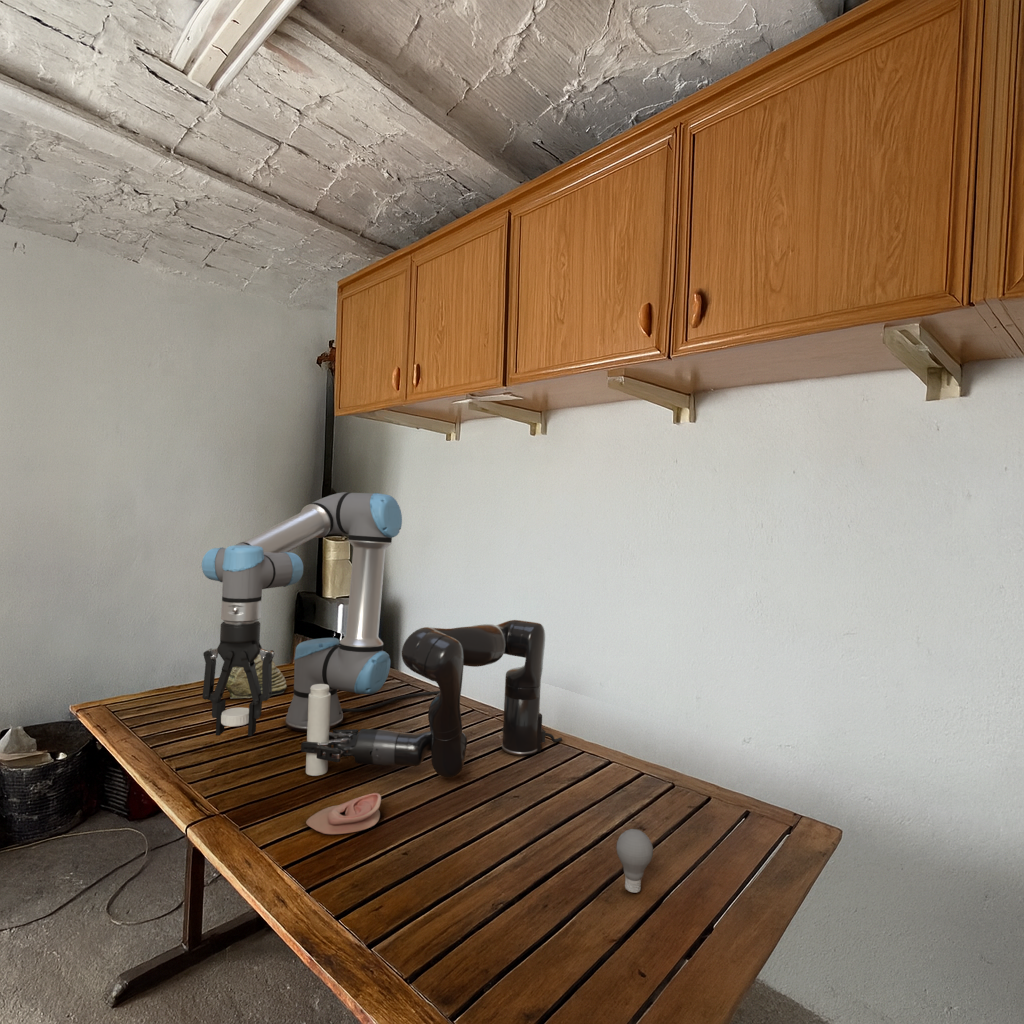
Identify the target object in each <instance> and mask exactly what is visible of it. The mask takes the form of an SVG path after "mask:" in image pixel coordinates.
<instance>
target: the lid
mask: <svg viewBox="0 0 1024 1024" xmlns="http://www.w3.org/2000/svg"><path fill="white" fill-rule="evenodd" d="M248 721H249V707H242V706H240V707H230V708H227V709H225V710H224V711H223V712H222V715H221V723H222V725H225V727H240V726H241V727H242V726H245V725H248Z"/></svg>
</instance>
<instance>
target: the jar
mask: <svg viewBox="0 0 1024 1024" xmlns="http://www.w3.org/2000/svg"><path fill="white" fill-rule="evenodd" d="M310 689H311V693H310V694H309V698H308V724H307V732H306V742H318V743H322V742H328V741H329V732H330V729H329V724H330V698H331V694H330V693H329V685H327V684H315V685H312V686H311V688H310ZM325 747H328V746H325ZM305 753H306V752H305ZM328 771H329V761H328V760H322V759H317V753H306V754H305V774H306V775H308V776H312V777H317V776H318V777H319V776H323V775H325V774H326V773H327V772H328Z"/></svg>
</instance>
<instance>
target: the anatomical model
mask: <svg viewBox="0 0 1024 1024" xmlns="http://www.w3.org/2000/svg"><path fill="white" fill-rule="evenodd" d="M381 803H382V796H381V794H380V793H379V792H373V793H368V794H364V795H362V796H358V797H356V798H353V799H351V800H348V801H346V802H343V803H340V804H338V805H332V806H328V807H325V808H323V809H321V810H319V811H317V812H315V813H313V814H312V815H311V816H310V817H308V818H307V819H306V821H305V824H306V825H307V826H308V827H309V828H311V829H312V830H314V831H316V832H319V833H321V834H323V835H343V834H351V833H356V832H362V831H365V830H367V829H369V828H370V829H371V828H372V827H374V826H375V825H376V824H377V823H379V821H380V818H381V812H380V810H379V809H380V807H381Z"/></svg>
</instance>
